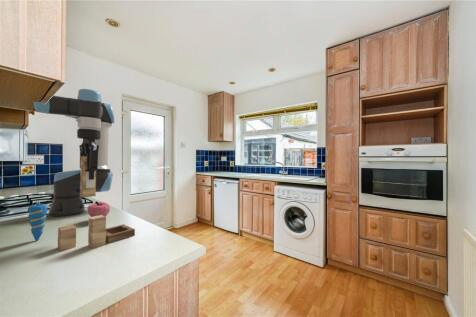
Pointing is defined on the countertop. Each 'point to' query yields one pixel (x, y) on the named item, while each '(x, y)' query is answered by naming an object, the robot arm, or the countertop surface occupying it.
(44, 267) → the countertop surface
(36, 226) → the ornament
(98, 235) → the medium pin
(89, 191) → the long pin
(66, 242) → the short pin
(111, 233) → the collar block
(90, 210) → the apple
